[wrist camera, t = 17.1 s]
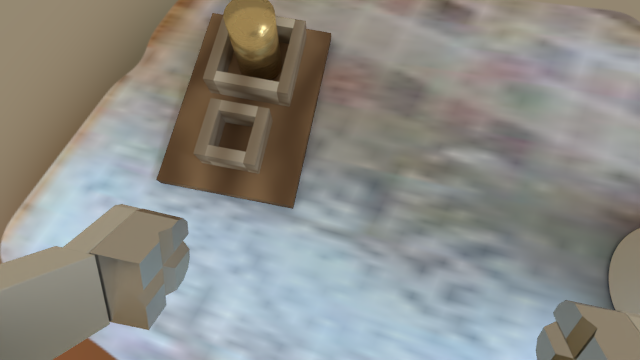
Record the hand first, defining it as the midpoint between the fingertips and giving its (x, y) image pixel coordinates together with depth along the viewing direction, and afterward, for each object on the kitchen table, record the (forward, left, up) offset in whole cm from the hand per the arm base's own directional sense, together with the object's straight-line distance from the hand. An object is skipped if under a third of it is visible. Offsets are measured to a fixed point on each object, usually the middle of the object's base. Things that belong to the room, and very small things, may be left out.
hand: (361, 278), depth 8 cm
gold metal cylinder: (+13, -23, -30) cm, 40 cm away
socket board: (+13, -18, -31) cm, 38 cm away
